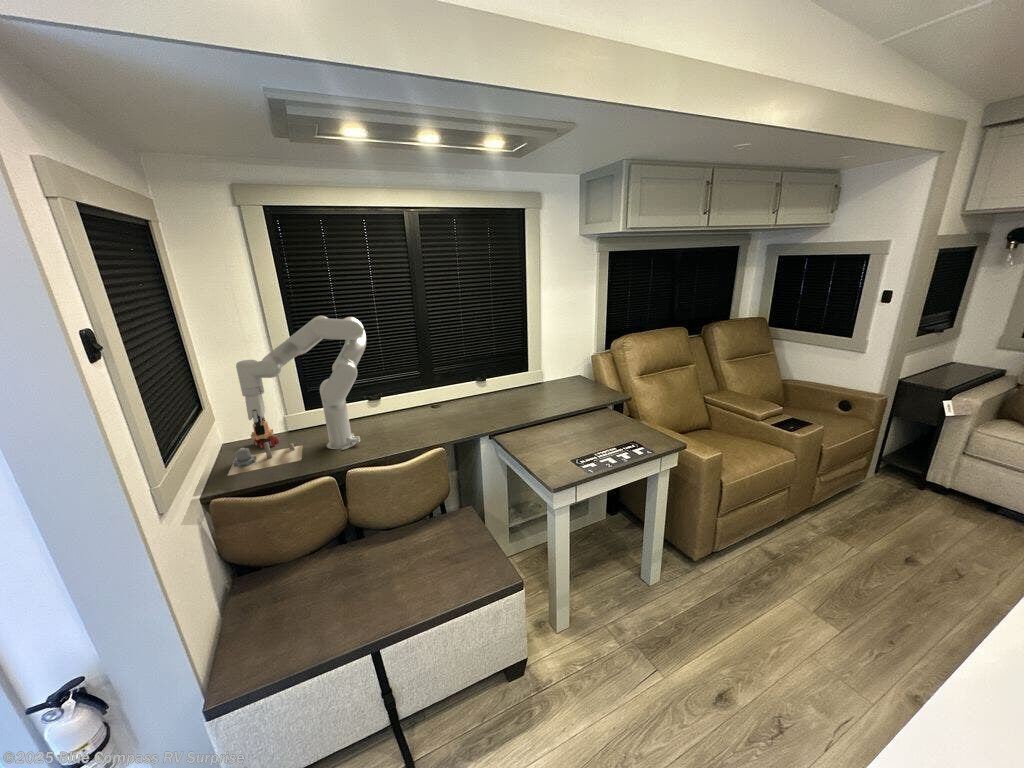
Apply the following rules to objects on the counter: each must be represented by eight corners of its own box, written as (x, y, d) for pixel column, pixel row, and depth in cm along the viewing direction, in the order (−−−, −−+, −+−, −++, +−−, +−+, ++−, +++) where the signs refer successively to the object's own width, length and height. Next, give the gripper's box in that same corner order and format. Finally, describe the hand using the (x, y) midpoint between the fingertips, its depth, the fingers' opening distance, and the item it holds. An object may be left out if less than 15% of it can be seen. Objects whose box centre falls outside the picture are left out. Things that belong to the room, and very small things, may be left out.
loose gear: (253, 434, 163) (250, 421, 161) (274, 430, 166) (271, 418, 164) (250, 441, 156) (247, 428, 154) (272, 437, 159) (269, 424, 158)
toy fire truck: (266, 452, 172) (261, 431, 169) (253, 446, 179) (247, 425, 176) (282, 446, 178) (277, 425, 175) (268, 440, 184) (264, 420, 181)
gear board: (303, 447, 176) (299, 431, 173) (301, 462, 162) (298, 445, 160) (235, 461, 165) (230, 443, 163) (228, 478, 151) (222, 459, 149)
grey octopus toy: (257, 456, 166) (253, 442, 164) (254, 464, 159) (251, 450, 157) (236, 461, 163) (232, 447, 161) (232, 469, 156) (228, 454, 154)
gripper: (245, 386, 161) (254, 426, 166) (237, 397, 146) (247, 441, 152) (266, 383, 164) (274, 423, 169) (260, 395, 149) (269, 437, 155)
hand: (261, 431), depth 160 cm, fingers closed on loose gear, 5 cm apart
